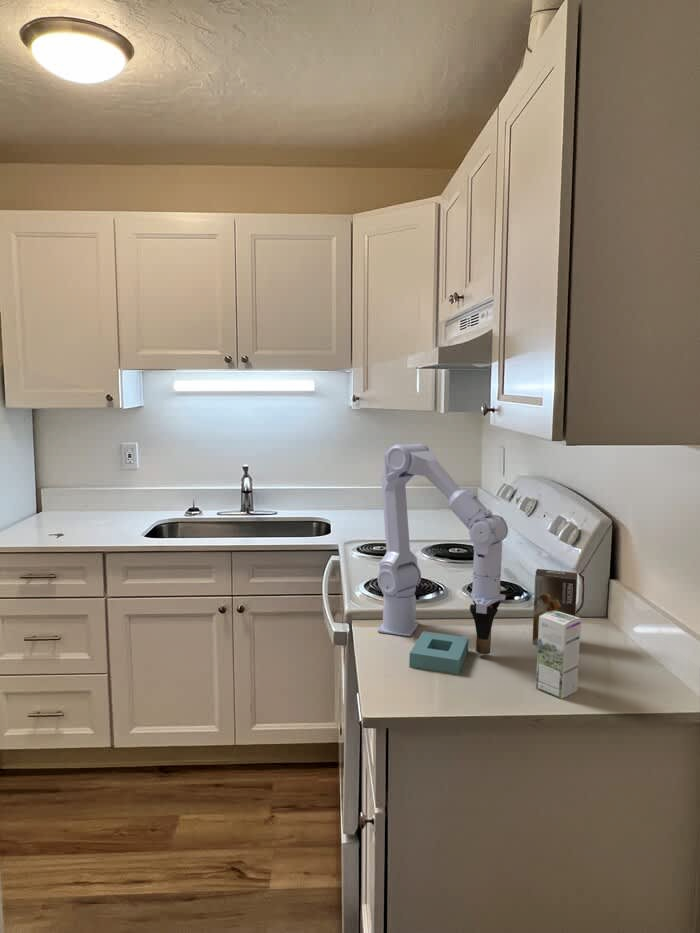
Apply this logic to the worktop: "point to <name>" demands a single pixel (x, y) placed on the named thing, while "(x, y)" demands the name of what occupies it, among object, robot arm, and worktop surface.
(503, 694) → the worktop surface
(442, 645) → the hole block
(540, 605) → the coffee box
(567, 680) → the syrup box
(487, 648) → the walnut peg
